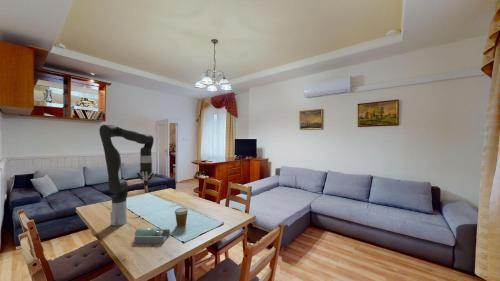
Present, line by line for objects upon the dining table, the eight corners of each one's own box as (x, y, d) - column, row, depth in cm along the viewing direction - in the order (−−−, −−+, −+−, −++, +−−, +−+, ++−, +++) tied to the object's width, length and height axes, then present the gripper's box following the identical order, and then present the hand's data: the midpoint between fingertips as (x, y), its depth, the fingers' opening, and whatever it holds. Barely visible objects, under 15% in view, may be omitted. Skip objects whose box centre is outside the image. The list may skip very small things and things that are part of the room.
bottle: (135, 229, 128) (160, 229, 128) (140, 227, 133) (164, 228, 133) (134, 237, 126) (159, 238, 126) (138, 236, 131) (163, 236, 131)
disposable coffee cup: (176, 222, 152) (176, 207, 152) (189, 222, 153) (189, 207, 152) (172, 228, 142) (172, 212, 142) (186, 228, 143) (186, 212, 143)
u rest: (134, 242, 124) (134, 236, 123) (143, 234, 134) (143, 228, 134) (163, 243, 123) (162, 237, 123) (169, 234, 134) (169, 229, 134)
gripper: (133, 162, 138) (134, 186, 139) (152, 162, 138) (152, 187, 139) (139, 160, 146) (140, 184, 146) (157, 161, 146) (157, 184, 146)
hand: (146, 185), depth 143 cm, fingers closed
